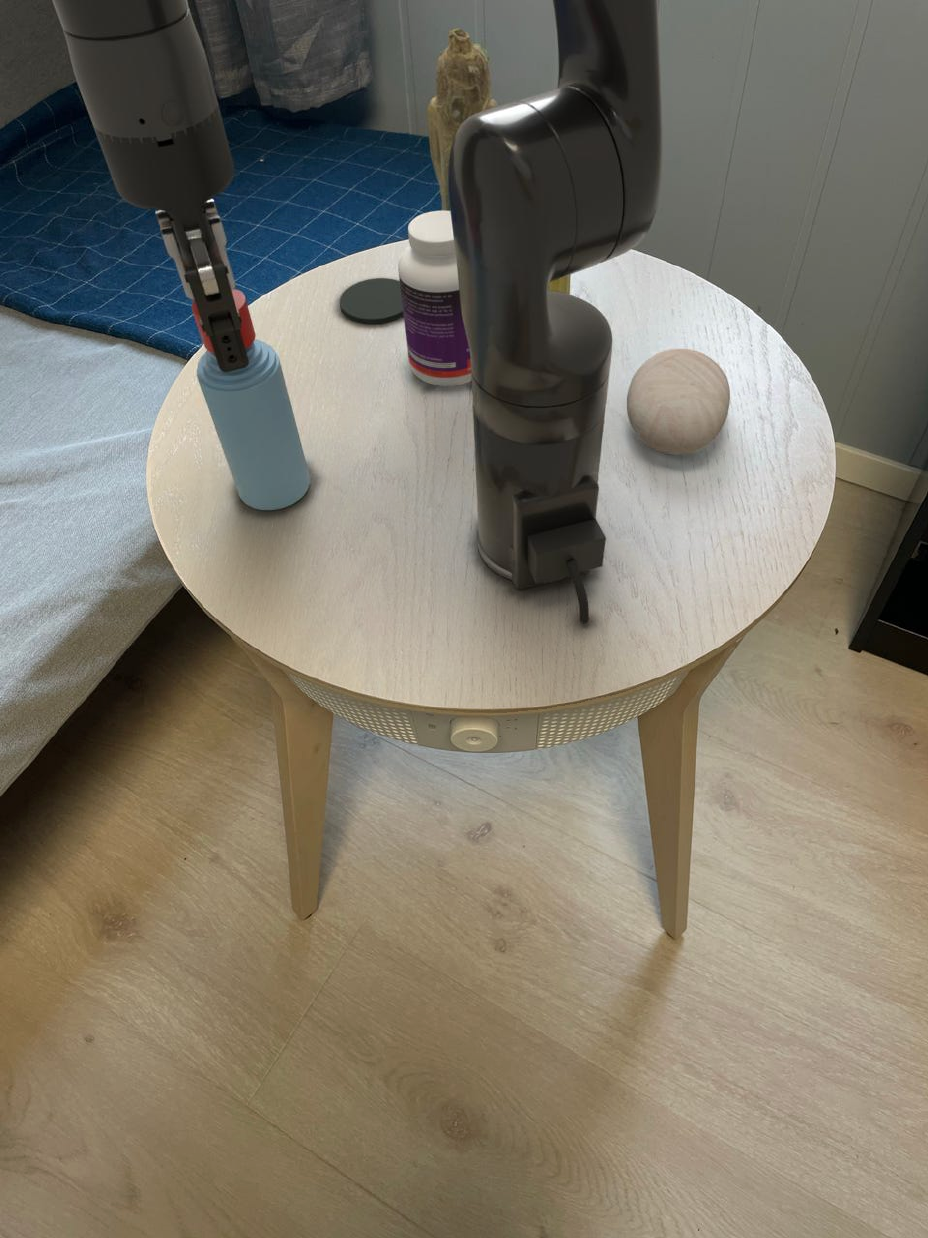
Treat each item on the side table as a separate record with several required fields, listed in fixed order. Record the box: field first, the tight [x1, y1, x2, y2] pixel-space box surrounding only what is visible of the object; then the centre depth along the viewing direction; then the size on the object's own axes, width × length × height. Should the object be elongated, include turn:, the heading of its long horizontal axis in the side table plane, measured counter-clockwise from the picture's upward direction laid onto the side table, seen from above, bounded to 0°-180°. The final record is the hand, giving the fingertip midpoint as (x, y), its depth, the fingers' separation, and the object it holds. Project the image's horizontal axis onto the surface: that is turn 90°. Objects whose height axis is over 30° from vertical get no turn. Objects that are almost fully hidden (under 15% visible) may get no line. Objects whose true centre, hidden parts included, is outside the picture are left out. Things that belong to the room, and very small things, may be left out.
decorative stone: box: [626, 348, 731, 455], centre depth 76 cm, size 13×9×5 cm
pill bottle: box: [397, 210, 472, 387], centre depth 80 cm, size 8×8×14 cm
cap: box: [191, 288, 257, 354], centre depth 63 cm, size 4×4×3 cm
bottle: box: [196, 338, 311, 511], centre depth 69 cm, size 6×6×17 cm
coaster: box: [339, 277, 404, 325], centre depth 93 cm, size 8×8×1 cm
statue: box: [426, 27, 499, 211], centre depth 84 cm, size 7×8×25 cm
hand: (229, 350), depth 65 cm, fingers closed on cap, 3 cm apart
